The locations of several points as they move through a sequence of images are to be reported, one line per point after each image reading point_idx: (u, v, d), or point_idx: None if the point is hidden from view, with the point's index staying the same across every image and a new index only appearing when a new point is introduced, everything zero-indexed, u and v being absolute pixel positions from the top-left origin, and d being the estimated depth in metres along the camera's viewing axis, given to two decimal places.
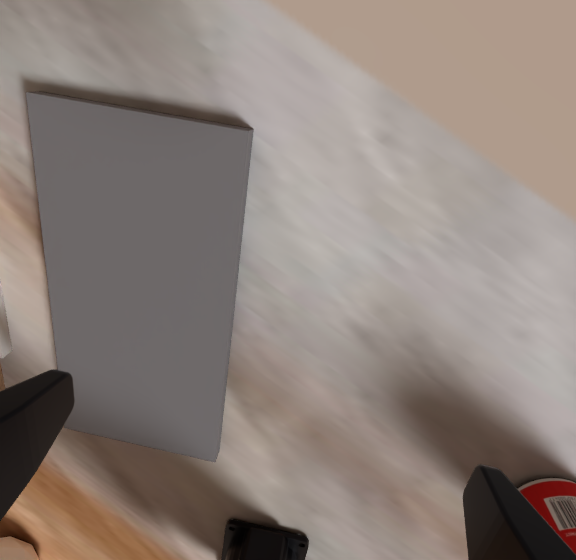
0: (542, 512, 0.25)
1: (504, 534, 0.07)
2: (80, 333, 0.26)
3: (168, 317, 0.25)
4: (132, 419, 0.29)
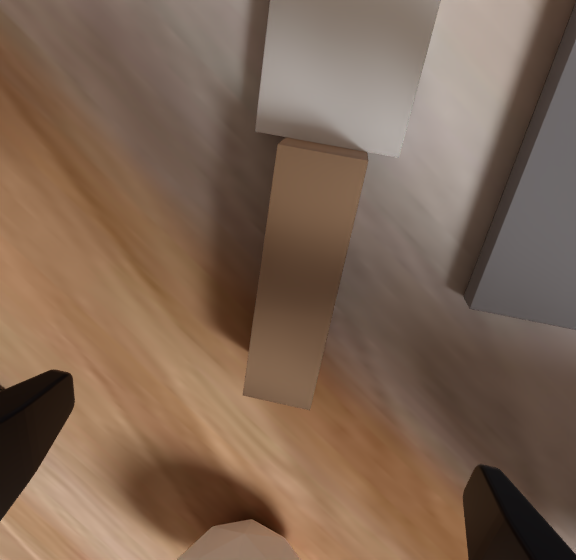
0: None
1: (504, 534, 0.07)
2: None
3: None
4: None
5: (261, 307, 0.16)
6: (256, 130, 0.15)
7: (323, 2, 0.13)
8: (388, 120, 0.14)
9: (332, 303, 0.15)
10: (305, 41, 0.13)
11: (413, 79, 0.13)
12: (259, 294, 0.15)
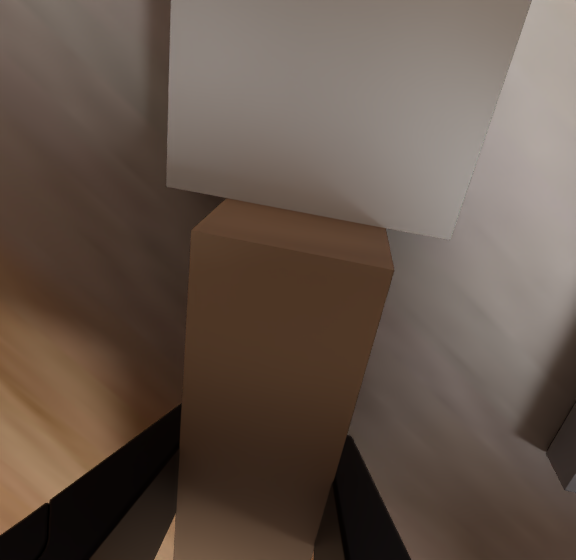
0: None
1: (330, 494, 0.08)
2: None
3: None
4: None
5: (188, 509, 0.08)
6: (169, 184, 0.08)
7: None
8: (430, 169, 0.07)
9: (319, 512, 0.08)
10: (255, 3, 0.06)
11: (489, 83, 0.06)
12: (182, 490, 0.08)
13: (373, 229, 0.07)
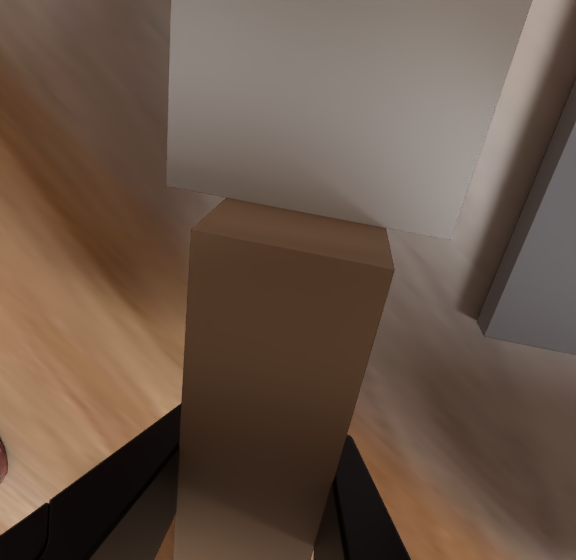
0: None
1: (330, 494, 0.08)
2: None
3: None
4: None
5: (188, 509, 0.08)
6: (169, 184, 0.08)
7: None
8: (431, 169, 0.07)
9: (319, 512, 0.08)
10: (256, 3, 0.06)
11: (490, 83, 0.06)
12: (181, 489, 0.08)
13: (373, 229, 0.07)
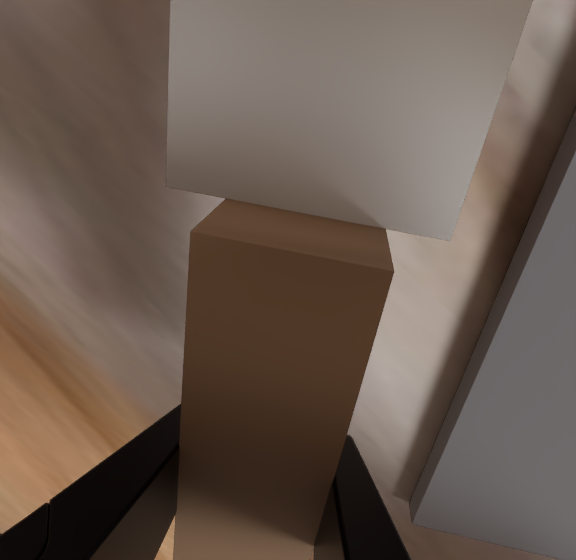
0: None
1: (330, 494, 0.08)
2: (532, 378, 0.15)
3: None
4: (552, 517, 0.17)
5: (187, 509, 0.08)
6: (168, 184, 0.07)
7: None
8: (431, 170, 0.07)
9: (318, 513, 0.08)
10: (254, 4, 0.06)
11: (491, 85, 0.06)
12: (181, 490, 0.08)
13: (373, 230, 0.07)
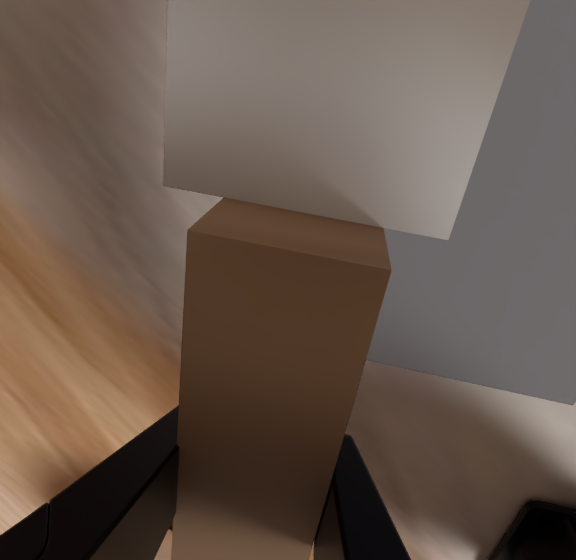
0: None
1: (330, 494, 0.08)
2: None
3: None
4: (452, 331, 0.17)
5: (185, 509, 0.08)
6: (166, 183, 0.07)
7: None
8: (429, 169, 0.07)
9: (316, 512, 0.08)
10: (252, 2, 0.06)
11: (488, 83, 0.06)
12: (179, 489, 0.08)
13: (371, 229, 0.07)
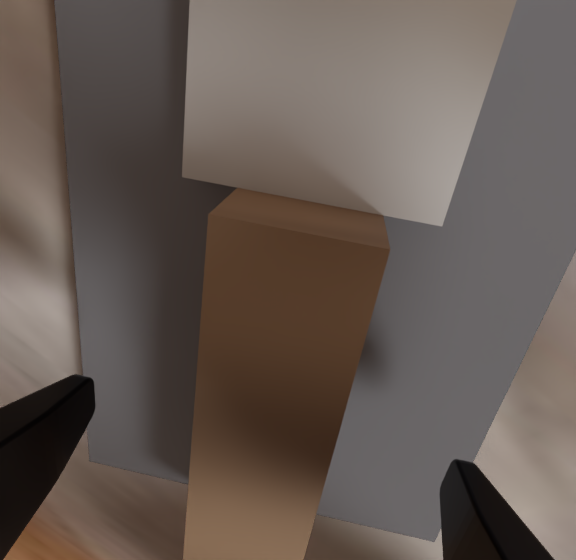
0: None
1: (475, 527, 0.07)
2: (143, 218, 0.10)
3: None
4: None
5: (200, 476, 0.09)
6: (184, 175, 0.08)
7: None
8: (424, 161, 0.07)
9: (321, 478, 0.09)
10: (266, 10, 0.07)
11: (477, 83, 0.07)
12: (195, 457, 0.09)
13: (372, 216, 0.08)
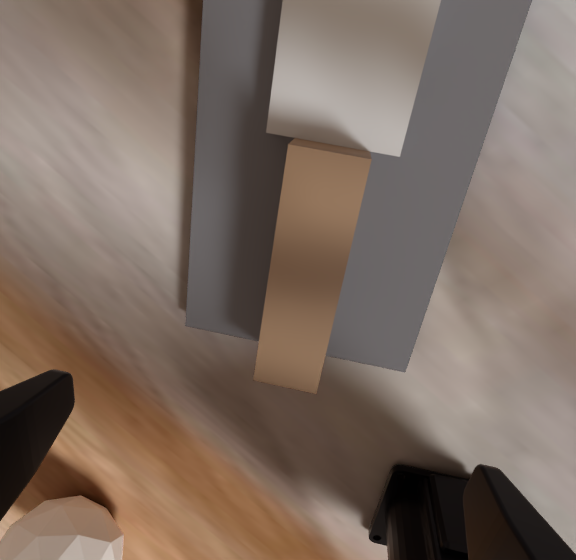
0: None
1: (504, 534, 0.07)
2: (236, 159, 0.17)
3: None
4: None
5: (271, 296, 0.17)
6: (267, 131, 0.16)
7: (330, 14, 0.14)
8: (390, 122, 0.15)
9: (338, 292, 0.16)
10: (313, 50, 0.14)
11: (413, 84, 0.14)
12: (269, 284, 0.16)
13: (364, 151, 0.15)
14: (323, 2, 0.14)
